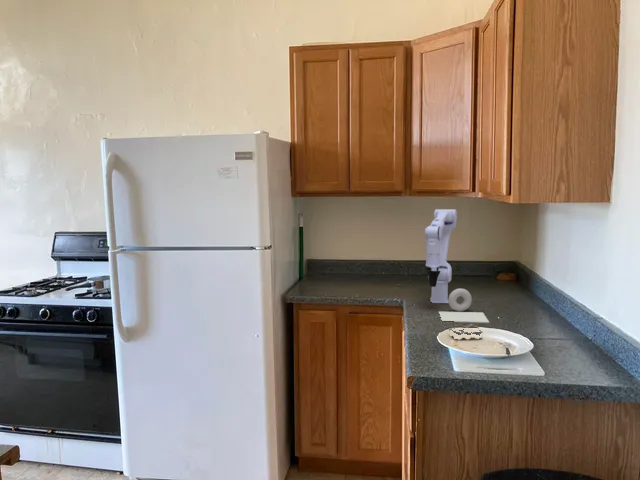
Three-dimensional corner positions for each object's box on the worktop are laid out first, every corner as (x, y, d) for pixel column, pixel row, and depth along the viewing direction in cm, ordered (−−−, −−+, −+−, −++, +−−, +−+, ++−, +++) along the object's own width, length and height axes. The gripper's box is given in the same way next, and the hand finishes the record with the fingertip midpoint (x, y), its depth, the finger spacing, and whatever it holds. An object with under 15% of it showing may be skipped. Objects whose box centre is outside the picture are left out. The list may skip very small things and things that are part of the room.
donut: (449, 312, 206) (450, 289, 204) (446, 310, 209) (447, 287, 208) (472, 312, 206) (473, 288, 205) (469, 309, 210) (470, 287, 209)
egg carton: (476, 334, 177) (476, 323, 177) (484, 340, 170) (484, 329, 169) (447, 334, 177) (447, 323, 177) (453, 341, 170) (453, 330, 169)
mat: (438, 312, 207) (438, 311, 207) (482, 313, 204) (482, 312, 204) (441, 321, 193) (441, 320, 193) (489, 322, 190) (489, 321, 190)
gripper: (444, 256, 203) (443, 288, 204) (441, 252, 217) (440, 282, 218) (426, 255, 204) (426, 288, 205) (424, 252, 218) (424, 282, 219)
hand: (432, 285), depth 211 cm, fingers open, 6 cm apart
